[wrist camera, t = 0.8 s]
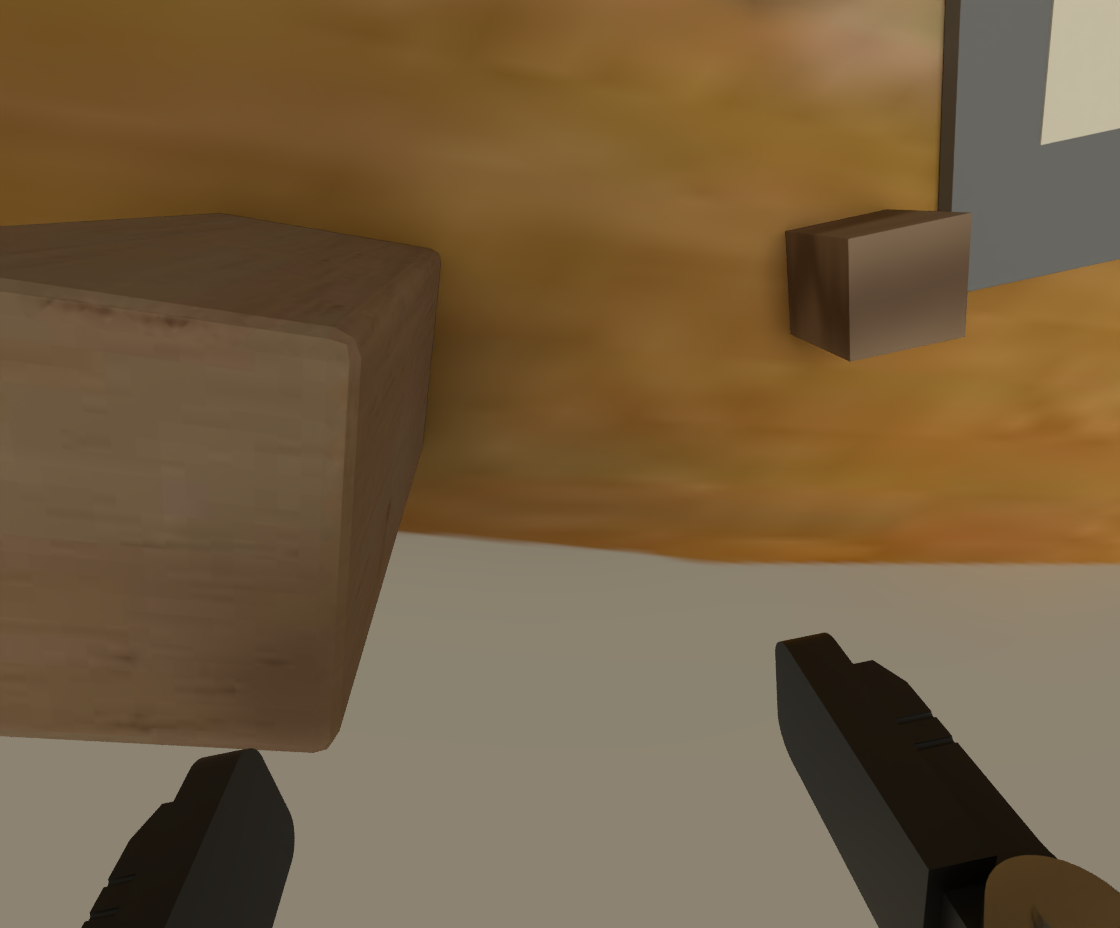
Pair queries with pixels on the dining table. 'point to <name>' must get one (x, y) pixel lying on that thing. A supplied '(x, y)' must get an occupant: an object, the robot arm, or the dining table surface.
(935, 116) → the dining table surface
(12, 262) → the wooden block
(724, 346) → the dining table surface
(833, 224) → the walnut block
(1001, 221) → the grey flat rectangular panel
